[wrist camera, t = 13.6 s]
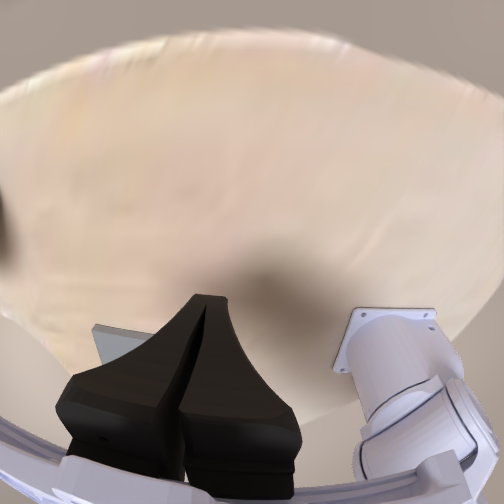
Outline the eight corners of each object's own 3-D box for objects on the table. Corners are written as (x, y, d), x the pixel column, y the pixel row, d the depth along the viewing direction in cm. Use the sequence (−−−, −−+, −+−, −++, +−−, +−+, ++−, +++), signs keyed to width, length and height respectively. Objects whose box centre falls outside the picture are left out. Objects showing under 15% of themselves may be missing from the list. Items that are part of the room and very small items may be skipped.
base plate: (234, 343, 26) (233, 351, 25) (228, 422, 32) (228, 428, 31) (95, 324, 25) (91, 330, 24) (122, 405, 31) (119, 410, 30)
